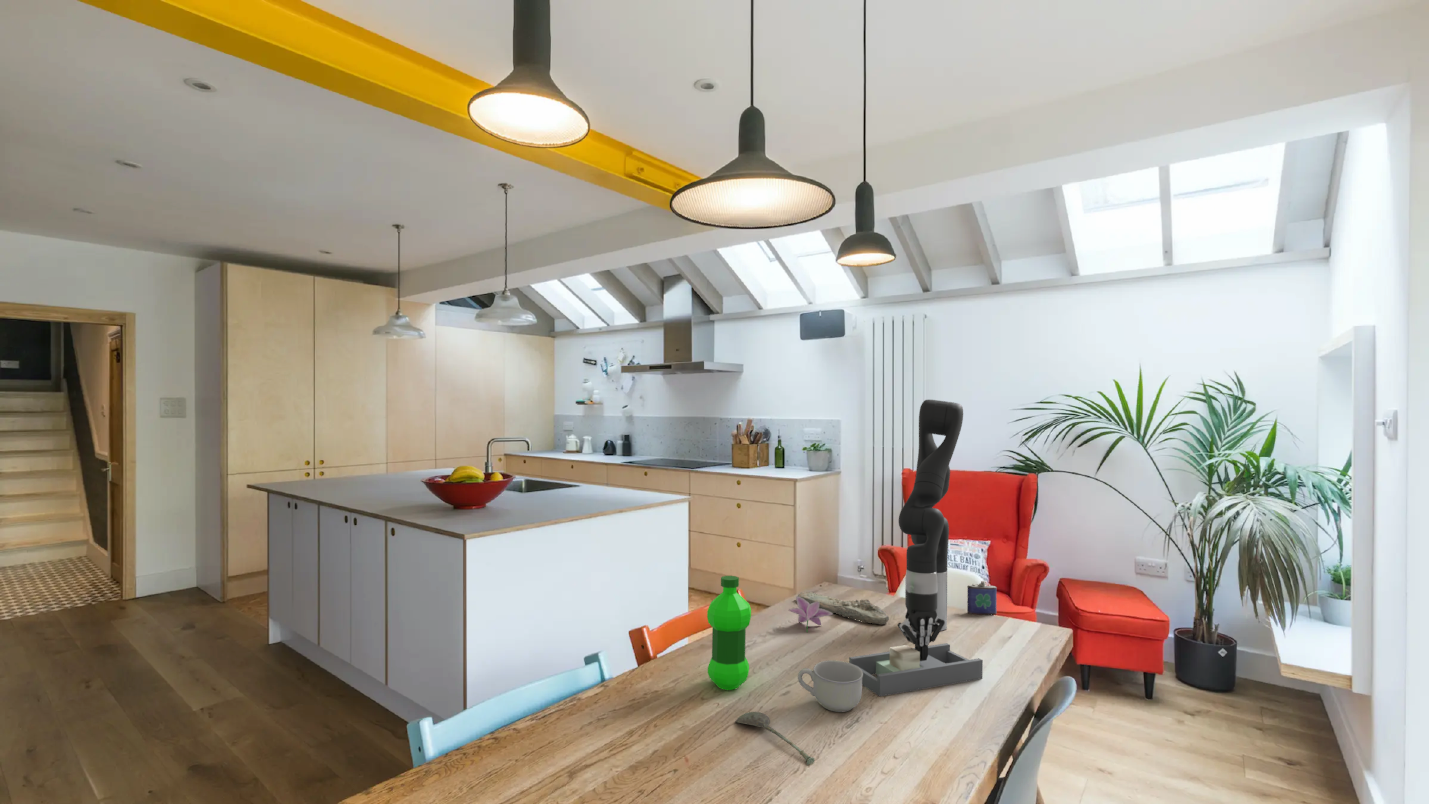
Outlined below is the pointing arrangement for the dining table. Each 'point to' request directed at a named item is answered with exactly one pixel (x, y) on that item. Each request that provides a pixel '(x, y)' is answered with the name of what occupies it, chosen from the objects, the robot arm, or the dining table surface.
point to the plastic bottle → (729, 636)
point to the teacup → (834, 684)
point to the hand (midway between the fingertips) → (921, 659)
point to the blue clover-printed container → (981, 599)
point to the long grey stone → (849, 608)
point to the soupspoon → (764, 721)
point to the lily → (809, 611)
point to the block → (904, 657)
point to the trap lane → (917, 671)
